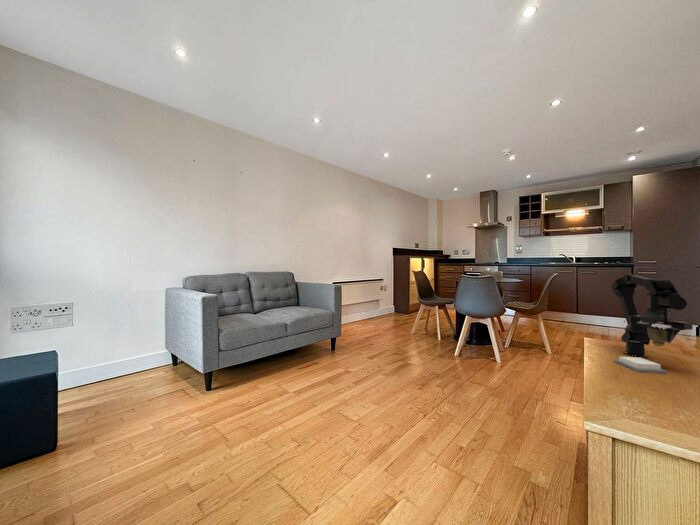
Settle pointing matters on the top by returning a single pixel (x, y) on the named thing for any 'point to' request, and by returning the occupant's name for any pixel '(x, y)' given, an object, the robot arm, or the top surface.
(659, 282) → the robot arm
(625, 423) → the top surface
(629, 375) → the top surface
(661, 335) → the cup
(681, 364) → the top surface
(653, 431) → the top surface
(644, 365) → the stand
